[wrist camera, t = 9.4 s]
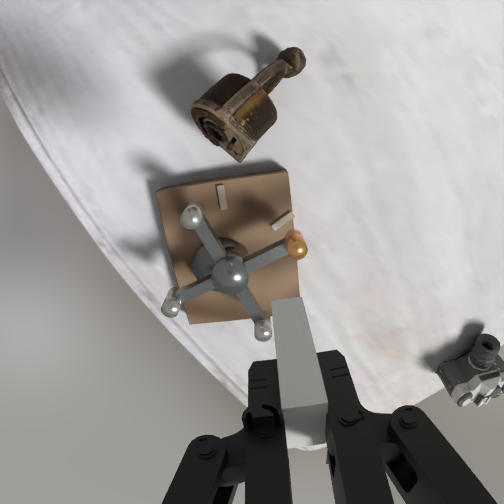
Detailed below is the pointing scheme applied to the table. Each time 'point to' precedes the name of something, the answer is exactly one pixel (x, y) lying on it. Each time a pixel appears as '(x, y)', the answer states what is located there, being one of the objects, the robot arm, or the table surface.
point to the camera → (475, 373)
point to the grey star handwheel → (229, 268)
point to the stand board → (233, 237)
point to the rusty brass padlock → (244, 105)
